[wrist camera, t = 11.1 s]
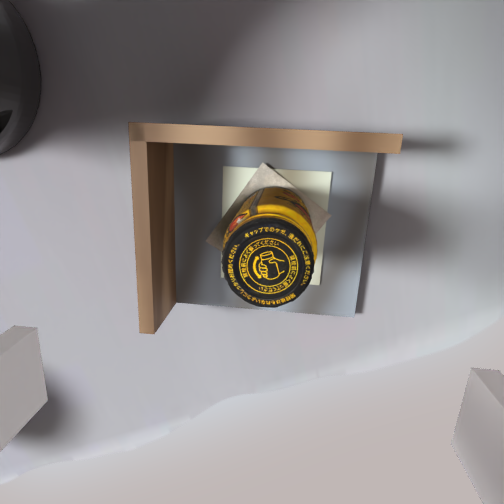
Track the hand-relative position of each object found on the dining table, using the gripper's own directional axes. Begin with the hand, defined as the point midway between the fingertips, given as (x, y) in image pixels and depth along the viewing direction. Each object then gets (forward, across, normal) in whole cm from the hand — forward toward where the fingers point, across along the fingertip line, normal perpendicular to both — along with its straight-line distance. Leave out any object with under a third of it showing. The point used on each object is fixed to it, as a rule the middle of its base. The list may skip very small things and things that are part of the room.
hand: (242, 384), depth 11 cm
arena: (+22, -1, 0) cm, 23 cm away
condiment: (+22, 0, 0) cm, 22 cm away
